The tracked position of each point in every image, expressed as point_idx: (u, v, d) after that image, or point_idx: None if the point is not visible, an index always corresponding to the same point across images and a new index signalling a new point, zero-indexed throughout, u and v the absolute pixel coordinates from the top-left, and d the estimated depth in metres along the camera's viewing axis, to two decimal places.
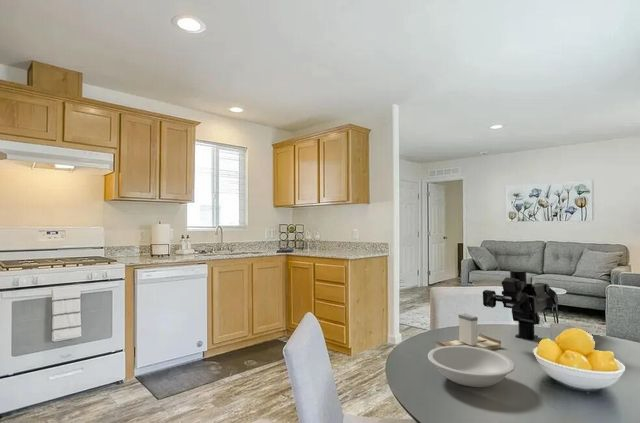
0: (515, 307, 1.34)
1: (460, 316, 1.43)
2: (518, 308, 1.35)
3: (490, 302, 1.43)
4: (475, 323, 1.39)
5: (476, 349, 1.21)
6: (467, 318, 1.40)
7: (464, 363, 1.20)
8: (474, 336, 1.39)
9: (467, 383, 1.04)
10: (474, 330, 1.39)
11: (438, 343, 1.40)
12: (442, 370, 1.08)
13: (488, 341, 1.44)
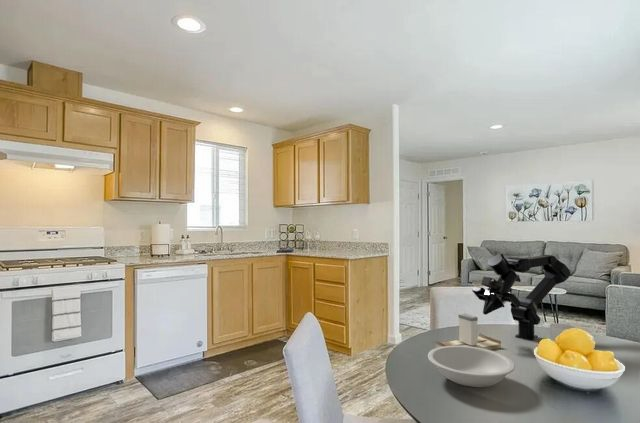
0: (487, 310, 1.45)
1: (460, 316, 1.43)
2: (491, 309, 1.45)
3: None
4: (475, 323, 1.39)
5: (476, 349, 1.21)
6: (467, 318, 1.40)
7: (464, 363, 1.20)
8: (474, 336, 1.39)
9: (467, 383, 1.04)
10: (474, 330, 1.39)
11: (438, 343, 1.40)
12: (442, 370, 1.08)
13: (488, 341, 1.44)
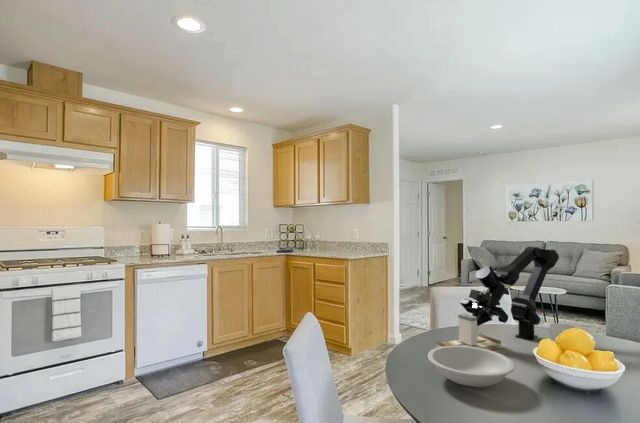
0: None
1: (460, 316, 1.43)
2: (478, 323, 1.42)
3: None
4: (474, 323, 1.39)
5: (476, 349, 1.21)
6: (467, 318, 1.40)
7: (464, 363, 1.20)
8: (473, 336, 1.39)
9: (467, 383, 1.04)
10: (474, 330, 1.39)
11: (438, 343, 1.40)
12: (442, 370, 1.08)
13: (488, 341, 1.44)
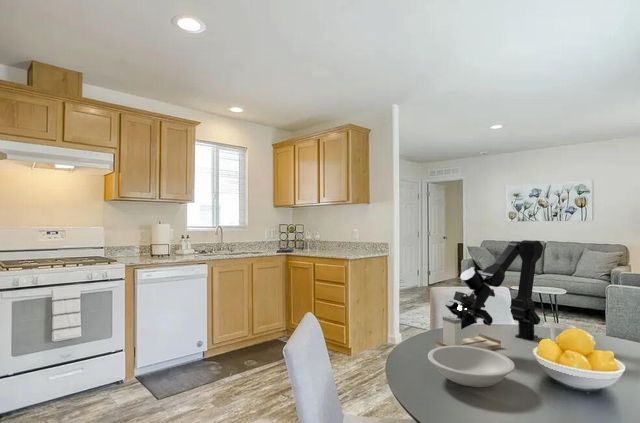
0: None
1: (444, 318, 1.40)
2: (463, 326, 1.39)
3: None
4: (459, 326, 1.36)
5: (476, 349, 1.21)
6: (451, 320, 1.37)
7: (464, 363, 1.20)
8: (457, 339, 1.36)
9: (467, 383, 1.04)
10: (458, 333, 1.36)
11: (438, 343, 1.40)
12: (442, 370, 1.08)
13: (488, 341, 1.44)
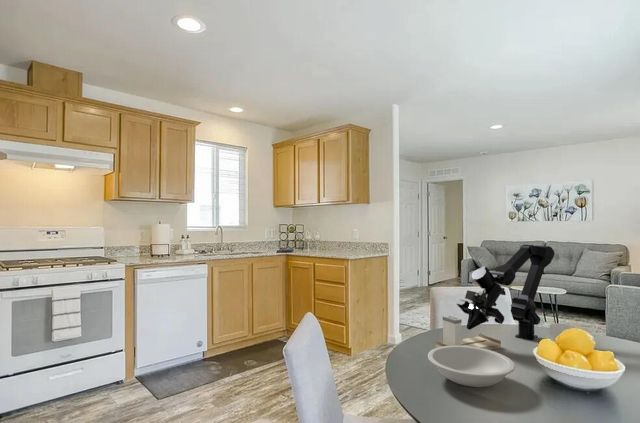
0: (471, 325, 1.41)
1: (444, 318, 1.40)
2: (475, 324, 1.41)
3: None
4: (458, 326, 1.36)
5: (476, 349, 1.21)
6: (451, 320, 1.37)
7: (464, 363, 1.20)
8: (457, 339, 1.36)
9: (467, 383, 1.04)
10: (458, 333, 1.36)
11: (438, 343, 1.40)
12: (442, 370, 1.08)
13: (488, 341, 1.44)
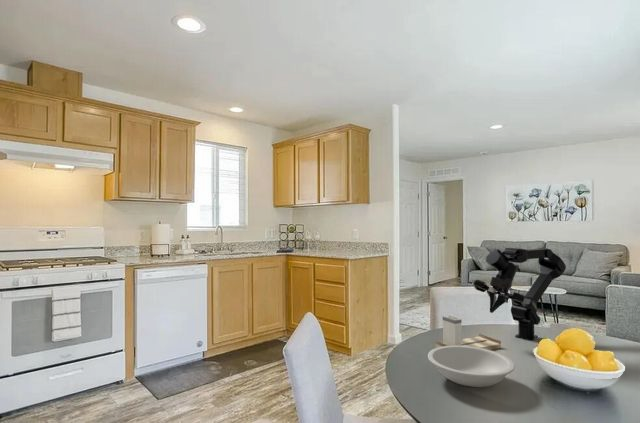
0: (494, 309, 1.45)
1: (444, 318, 1.40)
2: (497, 307, 1.46)
3: (493, 304, 1.47)
4: (458, 326, 1.36)
5: (476, 349, 1.21)
6: (451, 320, 1.37)
7: (464, 363, 1.20)
8: (457, 339, 1.36)
9: (467, 383, 1.04)
10: (458, 333, 1.36)
11: (438, 343, 1.40)
12: (442, 370, 1.08)
13: (488, 341, 1.44)
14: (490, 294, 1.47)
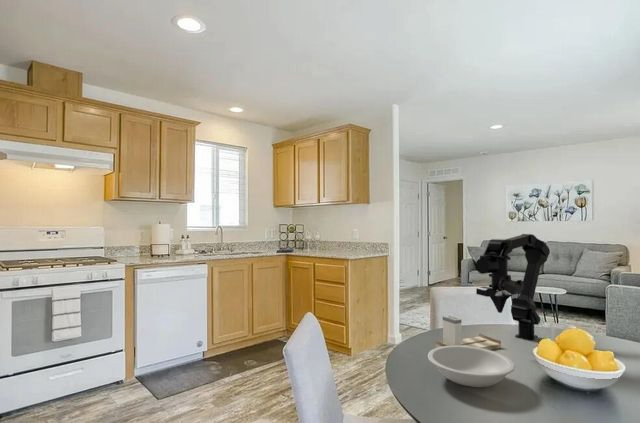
0: None
1: (444, 318, 1.40)
2: None
3: None
4: (458, 326, 1.36)
5: (476, 349, 1.21)
6: (451, 320, 1.37)
7: (464, 363, 1.20)
8: (457, 339, 1.36)
9: (467, 383, 1.04)
10: (458, 333, 1.36)
11: (438, 343, 1.40)
12: (442, 370, 1.08)
13: (488, 341, 1.44)
14: (500, 298, 1.43)
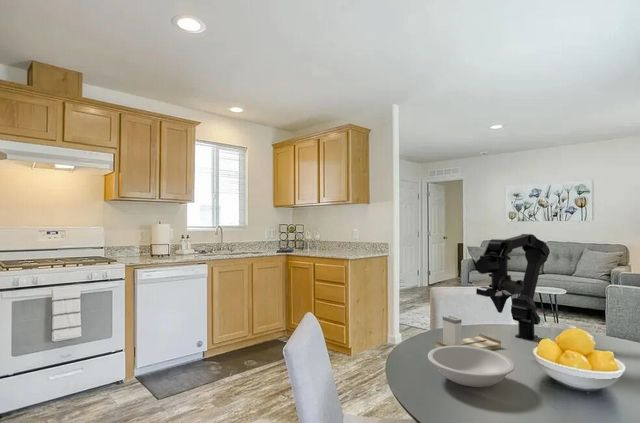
0: None
1: (444, 318, 1.40)
2: None
3: None
4: (458, 326, 1.36)
5: (476, 349, 1.21)
6: (451, 320, 1.37)
7: (464, 363, 1.20)
8: (457, 339, 1.36)
9: (467, 383, 1.04)
10: (458, 333, 1.36)
11: (438, 343, 1.40)
12: (442, 370, 1.08)
13: (488, 341, 1.44)
14: (500, 298, 1.43)
